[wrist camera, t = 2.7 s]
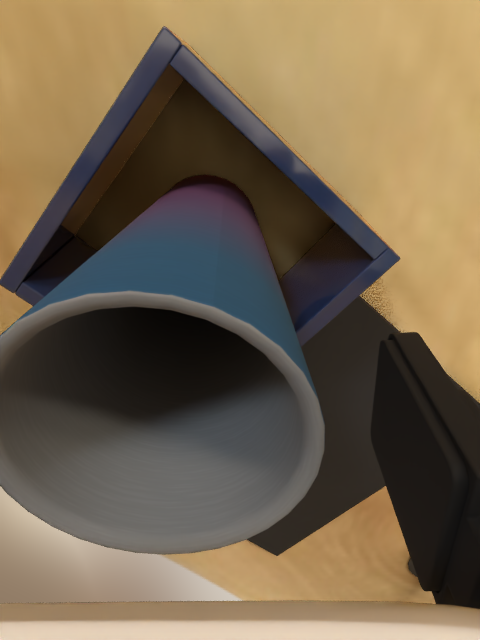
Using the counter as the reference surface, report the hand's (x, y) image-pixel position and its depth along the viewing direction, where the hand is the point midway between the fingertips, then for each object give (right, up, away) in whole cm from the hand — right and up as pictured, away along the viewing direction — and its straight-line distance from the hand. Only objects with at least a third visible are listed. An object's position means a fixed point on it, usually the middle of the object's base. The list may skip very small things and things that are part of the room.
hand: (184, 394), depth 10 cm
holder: (0, +7, +11) cm, 13 cm away
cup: (0, +7, +11) cm, 13 cm away
